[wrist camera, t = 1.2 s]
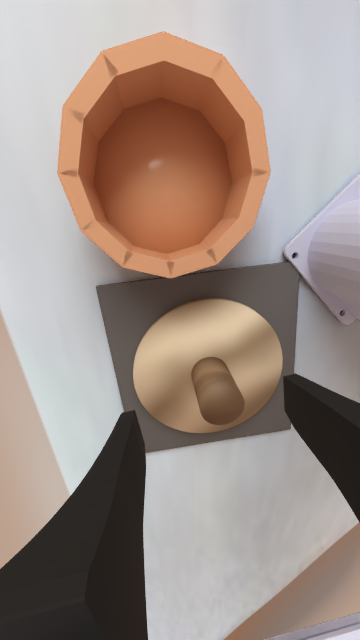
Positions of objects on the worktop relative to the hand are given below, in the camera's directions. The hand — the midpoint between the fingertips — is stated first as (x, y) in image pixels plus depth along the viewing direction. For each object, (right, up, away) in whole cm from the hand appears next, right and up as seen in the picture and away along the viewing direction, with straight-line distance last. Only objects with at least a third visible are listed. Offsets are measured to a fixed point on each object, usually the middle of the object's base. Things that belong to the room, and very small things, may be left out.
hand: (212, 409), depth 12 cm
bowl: (-3, +14, +6) cm, 15 cm away
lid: (+1, 0, +11) cm, 11 cm away
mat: (+1, 0, +11) cm, 11 cm away
